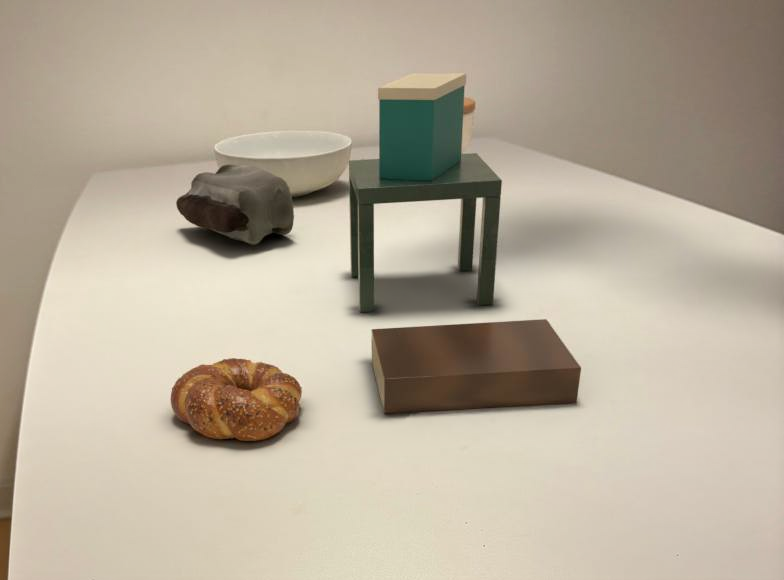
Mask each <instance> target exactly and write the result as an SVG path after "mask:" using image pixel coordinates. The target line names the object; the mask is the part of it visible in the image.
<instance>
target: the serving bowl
mask: <svg viewBox="0 0 784 580" xmlns="http://www.w3.org/2000/svg"><path fill="white" fill-rule="evenodd" d="M352 148H353V141H352V139H351V138H350V137H349V136H346V135H344V134H340V133H336V132H331V131H324V130H323V131H321V130H275V131H265V132H256V133H249V134H242V135H238V136H233V137H229V138H225V139H223V140H221V141H219V142H217V143H215V144H214V146H213V152H214V157H215V161H216V164H217V167H218V169H219V168H220V167H222V166H224V165H252V166H255V167H257V168H259V169H261V170H265V171H267V172H269V173H271V174H273V175H275V176H277V177H280V178H282V179H283V180H284V181H286V183H287V185H288V187H289V190H290V193H291V197H292V198H297V197H303V196H307V195H310V194H311V193H313V192H316V191H318V190H322V189H325V188H327V187H329V186H330V185H332V184H334V183H335V182H336V181H337V180H339V178H340V177H342V175H343V174H344V173H345V171H346V169H347V167H348V166H349V161H350V160H351V159H350V158H351V154H352Z"/></svg>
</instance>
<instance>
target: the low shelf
mask: <svg viewBox="0 0 784 580" xmlns="http://www.w3.org/2000/svg"><path fill="white" fill-rule="evenodd" d="M371 364H372V368H373V373H374V377H375V380H376V385H377V388H378V394H379V397H380V401H381V406H382V410H383V413H384V414H399V413H400V414H401V413H418V412H420V413H421V412H434V411H436V412H437V411H452V410H453V411H454V410H470V409H471V410H472V409H488V408H504V407H507V408H508V407H521V406H522V407H523V406H525V407H526V406H541V405H542V406H543V405H556V404H557V405H558V404H559V405H560V404H576V403H577V401H578V394H579V387H580V380H581V372H582V367H581V365H580V364H579V363H578V361H577V360H576V358H575V357H574V355H573V354H572V353H571V351H570V350H569V349H568V347H567V346H566V345H565V343H564V342H563V341H562V339H561V337H560V336H559V335H558V334H557V332H556V330H555V329H554V328H553V325H552V324H551V323H550V322H549V321H548V319H547V318H545V319H544V318H543V319H542V318H541V319H527V320H525V319H523V320H508V321H507V320H506V321H494V322H493V321H491V322H473V323H456V324H440V325H436V324H435V325H419V326H405V327H404V326H403V327H388V328H387V327H386V328H385V327H383V328H372V329H371Z"/></svg>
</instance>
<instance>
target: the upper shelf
mask: <svg viewBox="0 0 784 580" xmlns="http://www.w3.org/2000/svg"><path fill="white" fill-rule="evenodd" d="M502 183H503V180H502V179H501V178H500V177H499V176H498V174H497V173H496V172H495V171H494V170H493V169H492V168H491V167H490V166H489V165H488V164H487V162H485V161H484V160H483V159H482V158H481V156H480V155H479V154H478V153H477V152H472V153H471V152H470V153H463V154H461V161H460V162H458V163H457V164H455V165H454V166H452V167H451V168H449V169H448V170H447V171H445V172H444V173H442V174H441V175H439V176H438V177H436V178H435V179H433V180H432V181H420V180H396V179H379V158H369V159H353V160H351V159H349V162H348V193H349V194H348V197H349V200H348V202H349V255H350V260H349V261H350V276H351V278H358V310H359V312H360V313H367V312H374V311H375V205H378V204H379V205H380V204H396V203H414V202H415V203H416V202H431V201H433V202H434V201H447V200H460V209H459V211H460V212H459V230H458V247H457V248H458V250H457V269H458V271H459V272H466V271H473V266H474V250H475V249H474V247H475V246H474V245H475V234H476V233H475V232H476V217H477V216H476V215H477V213H476V212H477V200H478V199H482V205H481V221H480V235H479V236H480V237H479V252H478V270H477V285H476V286H477V287H476V302H477V303H476V304H477V305H478V306H491V305H494V293H495V281H496V269H497V268H496V266H497V255H498V253H497V252H498V240H499V226H500V215H501V214H500V211H501V200H502V199H501V198H502V197H501V196H502V185H503V184H502Z"/></svg>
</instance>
